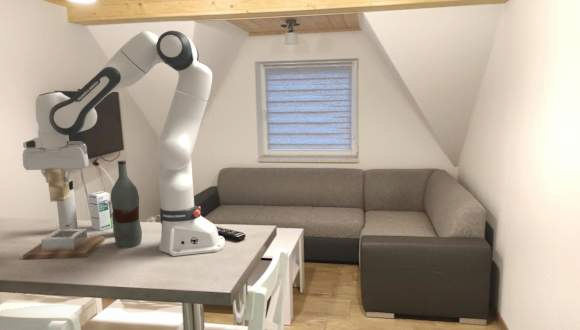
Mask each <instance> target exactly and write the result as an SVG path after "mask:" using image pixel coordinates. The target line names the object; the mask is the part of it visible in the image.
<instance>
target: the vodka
mask: <svg viewBox="0 0 580 330" xmlns="http://www.w3.org/2000/svg"><path fill="white" fill-rule="evenodd" d="M117 167H118V169H117V171H118V178H117V179H116V182H115V183H114V185H112V189H111V192H110V204H111V209H112V212H113V214H114V220H115V224H114V231H113V236H114V242H115V244H116V247H117V248H120V249H129V248H135V247H137V246H139V245H141V243H142V239H143V229H142V225H141V221H140V196H139V195H140V194H139V190H138V188H137V186H136V185H135V184H134V182H133V181H132V180H131V179H130V178H129V176H128V171H127V161H126V160H118V161H117Z"/></svg>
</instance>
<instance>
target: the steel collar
mask: <svg viewBox="0 0 580 330" xmlns="http://www.w3.org/2000/svg"><path fill="white" fill-rule="evenodd" d="M88 237H89V236H88V229H87V228H78V229H62V230H60V229H55V230H53V231H52V232H51V233H49V234H48V235H46V236H45V237H43V238H42V239H41V240H40V241H41V242H40V243H42V251H60V250H75V249H76V248H78V247H79V246H80V245H81V244H83V243H84V242H85V241H86V240H88Z"/></svg>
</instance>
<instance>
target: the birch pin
mask: <svg viewBox="0 0 580 330" xmlns="http://www.w3.org/2000/svg"><path fill="white" fill-rule="evenodd" d="M67 174H68V172H66V169H47V175H48V191H49V200H50V201H49V202H51V203H52V202H56V203H57V201H66V200H68V199H69V198H70V190H69V182H64V177H66V176H67Z"/></svg>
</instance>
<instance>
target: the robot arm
mask: <svg viewBox="0 0 580 330" xmlns="http://www.w3.org/2000/svg"><path fill="white" fill-rule="evenodd" d="M199 55H200V54H199V51H198V48H197V46H196V45H195V44H194V42H193V41H192V40H191V38H190V37H188V36H187V35H186V34H184V33H182V32H181V31H178V30H168V31H165V32H163V33H162V34H161V35H160V36H158V35H157V34H156V33H153V32H151V31H148V30H142V31H139V33H137V34H135V35H134V36H133V37H131V38H130V39H129V40H128V41H127V42H125V43H124V44H123V45H122V46H121V47H120V48H119V49H117V51H116V52H115V54H113V56H112V57H111V58H110V59H109V60H108V61H107V63H105V65H104V66H103V67H102V68H101V69H100V70H99V72H98V73H97V74H96V75H95V76H93V78H91V79H90V80H89V81H88V82H87V83H86V84H85V85H84V86H83V87H82V88H80V89H79V91H77V92H76V93H75V94H74V95H73V96H72V97H69V96H67V95H66V94H64V93H63V92H60V91H51V92H45V93H41V94H39V95H38V96H37V97H36V99H35V120H36V122H37V125H38V130H37V137H35V138H32V139H29V140H26V141H24V142H23V143H22V147H23V148H24V150H23V151H22V167H23V168H24V169H25V170H26V171H35V170H36V171H40V172H41V174H42V175H43V177H44V178H45V183H46V184H47V183H48V175H47V169H66V172H68V174H67V176H66V177H64V182H71V181H72V178H71V176H72V175H73V173H74V170H84V169H86V168H88V167H89V165H90V161H89V157H88V156H89V155H88V147H87V144H86V143H85V142H83V141H81V140H78V141H74V140H70V138H69V137H70V136H72V135H75V134H77V133H81V132H85V131H87V130H90V129H91V128H93V127H94V126H96V124H97V122H98V112H97V109H96V108H95V107H96V106H97V105H99V104H100V103H101V102H102V101H103V100H104V98H106V97H107V96H108V95H110V94H111V93H113V92H115V91H117V90H121V89H124V88H128V87H132V86H134V85H135V84H136V83H138V82H139V81H140V80H142V79H143V78H144V77H145V76H146V75H147V74H148V73H149V72H150V71H151V70H152V69H153V68H154V67H155V66H157V64H160V63H163V64H165V65H167V66H168V67H170V68H171V69H173V70H174V71H176V72H177V73H178V79H177V84H176V86H175V90H174V93H173V96H172V99H171V103H170V106H169V108H168V112H167V115H166V118H165V122H164V125H163V128H162V131H161V134H160V138H159V140H158V144H157V146H156V149H155V156H156V159H157V162H158V172H159V173H158V177H159V179H158V180H159V195H160V208H159V219H160V224H161V232H160V233H161V236H160V241H159V242H160V243H159V245H158V246H159V247H158V249H159V251H161V252H162V253H166V254H168V255H170V256H173V257H176V256H179V257H180V256H185V255H186V256H187V255H188V256H189V255H196V254H204V253H206V254H207V253H216V252H219V251H220V250H222V249H223V248H224V247H225V244H226V239H225V237H224V236H222V235H219V233H218V232H219V231H218V229H217V226H216V224H214V223H213V222H212V221H210V220H208V219H207V218H206V217H203V216H202V213H201V210H202V209H201V206H197V205H196V204H195V196H194V194H195V193H194V179H193V164H192V155H193V152H194V148H195V146H196V145H195V144H196V142H197V138H198V135H199V131H200V127H201V123H202V120H203V117H204V114H205V111H206V108H207V104H208V101H209V98H210V95H211V90H212V85H213V71H212V70H211V69H210V68H209V66H207V65H205V64H203V63H201V62H199Z"/></svg>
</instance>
